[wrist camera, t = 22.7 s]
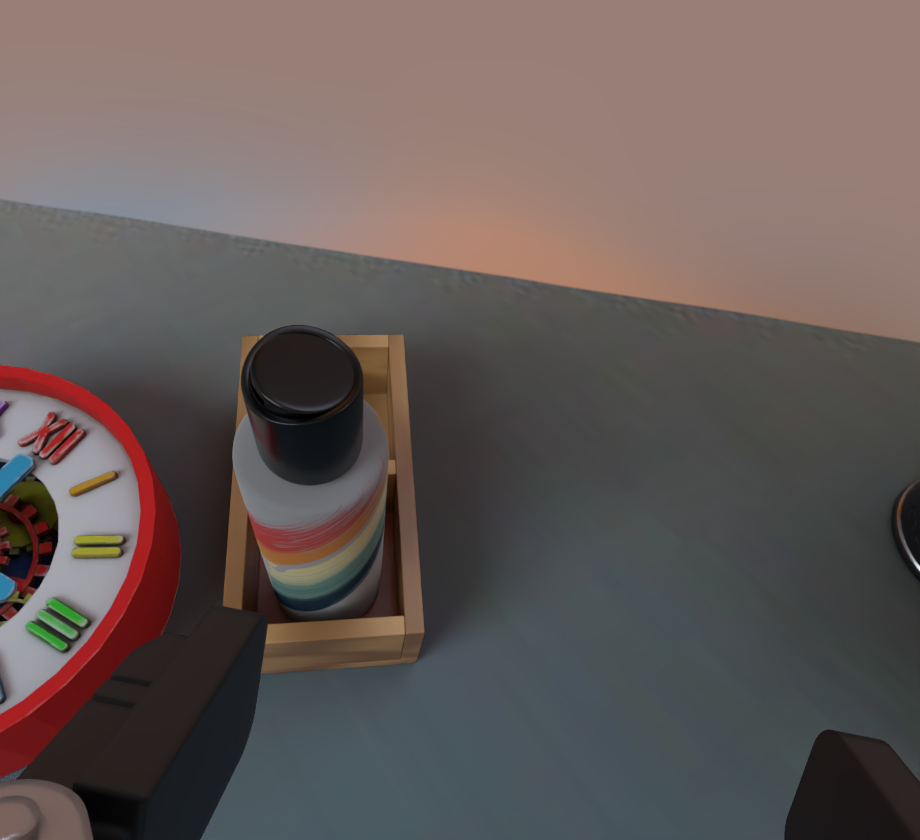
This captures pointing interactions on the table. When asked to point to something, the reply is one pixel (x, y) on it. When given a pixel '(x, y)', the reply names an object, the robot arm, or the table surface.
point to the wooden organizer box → (400, 592)
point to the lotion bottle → (313, 473)
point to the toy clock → (72, 555)
